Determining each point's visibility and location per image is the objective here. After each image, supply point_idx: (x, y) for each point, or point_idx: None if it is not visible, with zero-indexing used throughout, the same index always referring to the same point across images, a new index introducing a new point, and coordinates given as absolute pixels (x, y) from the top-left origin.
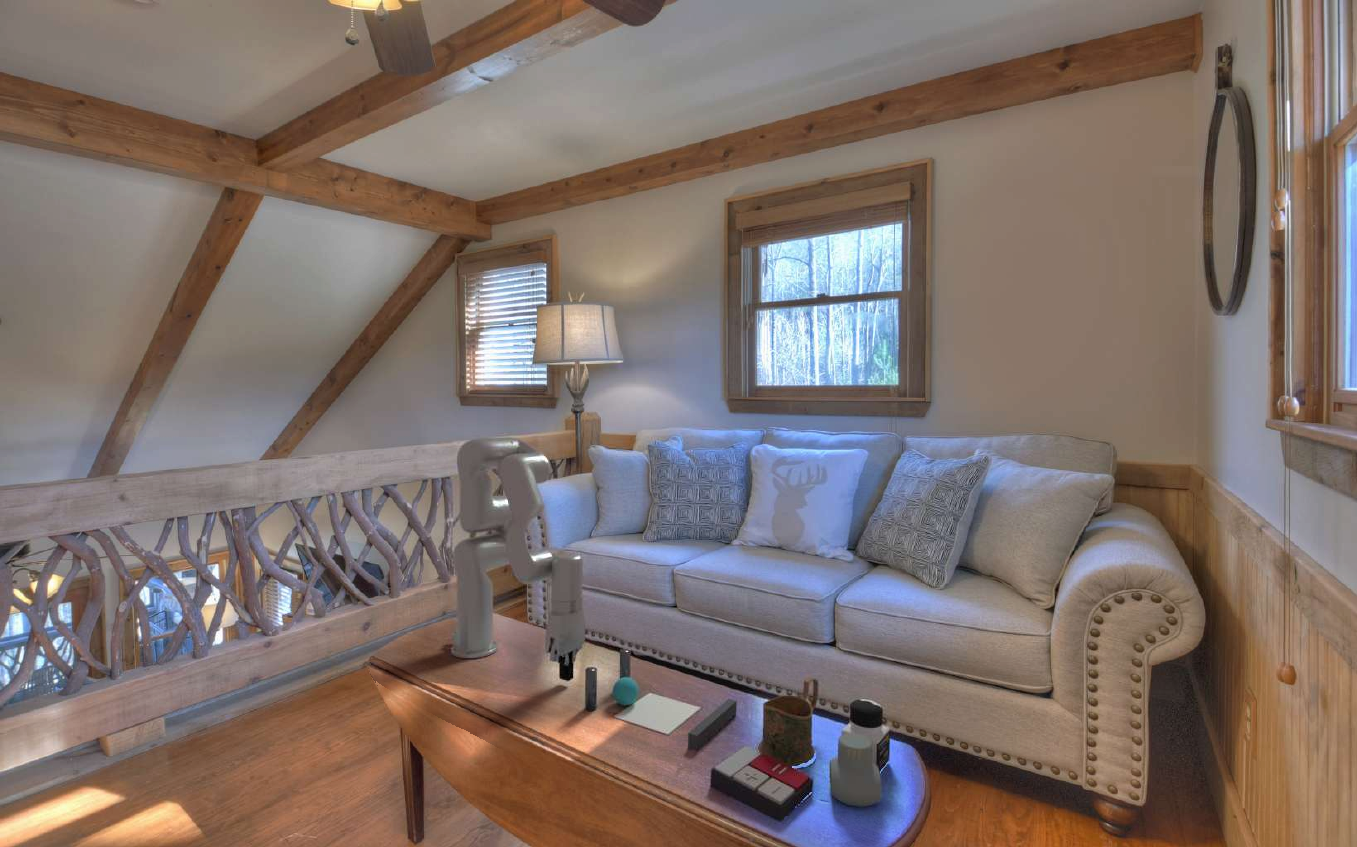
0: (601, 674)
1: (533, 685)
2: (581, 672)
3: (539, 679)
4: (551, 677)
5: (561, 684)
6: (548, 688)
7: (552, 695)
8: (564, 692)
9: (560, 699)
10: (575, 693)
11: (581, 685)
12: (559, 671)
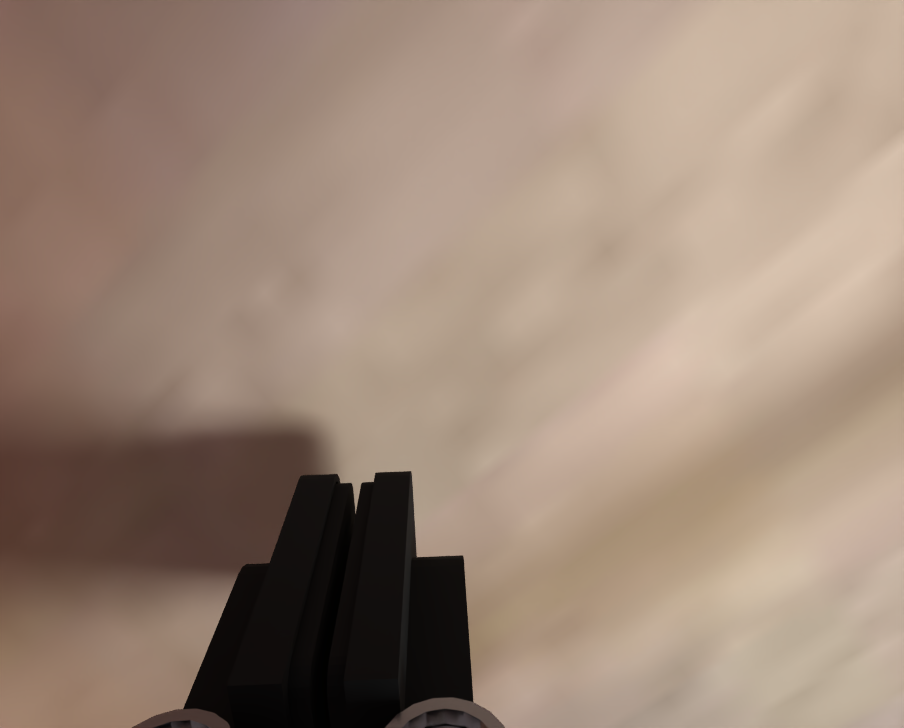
0: (867, 634)
1: (8, 120)
2: (819, 403)
3: (235, 18)
4: (426, 145)
5: (337, 447)
6: (123, 393)
7: (33, 569)
8: (198, 620)
9: (44, 694)
10: None
11: (473, 647)
12: (279, 541)
